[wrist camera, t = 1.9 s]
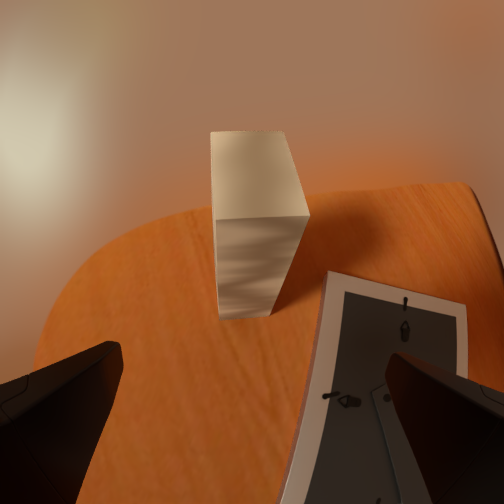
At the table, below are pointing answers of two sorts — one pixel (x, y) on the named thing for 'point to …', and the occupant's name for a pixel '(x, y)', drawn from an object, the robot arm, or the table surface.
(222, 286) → the pale beige block
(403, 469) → the picture frame
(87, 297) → the table surface
